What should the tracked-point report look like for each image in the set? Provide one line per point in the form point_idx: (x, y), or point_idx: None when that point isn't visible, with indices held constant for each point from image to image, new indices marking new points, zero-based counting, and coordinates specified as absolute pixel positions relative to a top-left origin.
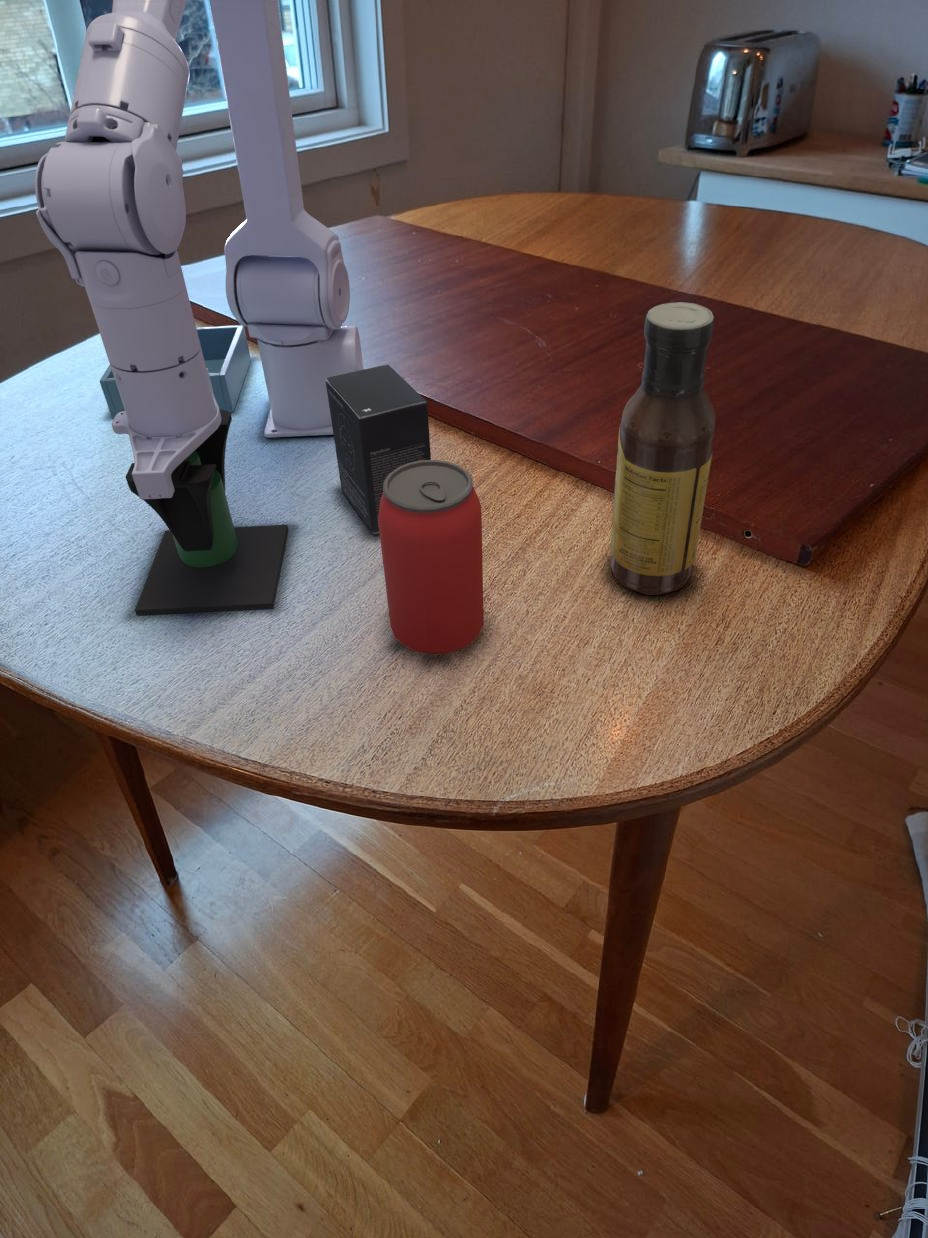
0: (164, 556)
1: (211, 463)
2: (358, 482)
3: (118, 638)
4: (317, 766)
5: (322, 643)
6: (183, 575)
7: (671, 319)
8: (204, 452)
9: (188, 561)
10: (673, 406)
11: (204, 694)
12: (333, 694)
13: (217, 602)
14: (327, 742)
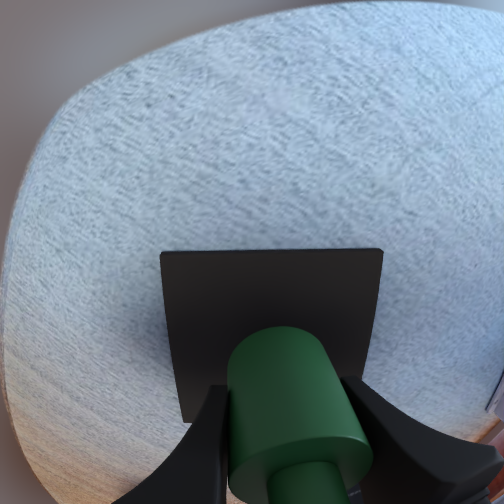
0: (309, 268)
1: (366, 484)
2: (351, 501)
3: (111, 237)
4: (20, 427)
5: (135, 449)
6: (250, 312)
7: None
8: (377, 500)
9: (232, 356)
10: None
11: (45, 359)
12: (79, 447)
13: (180, 370)
14: (38, 436)
